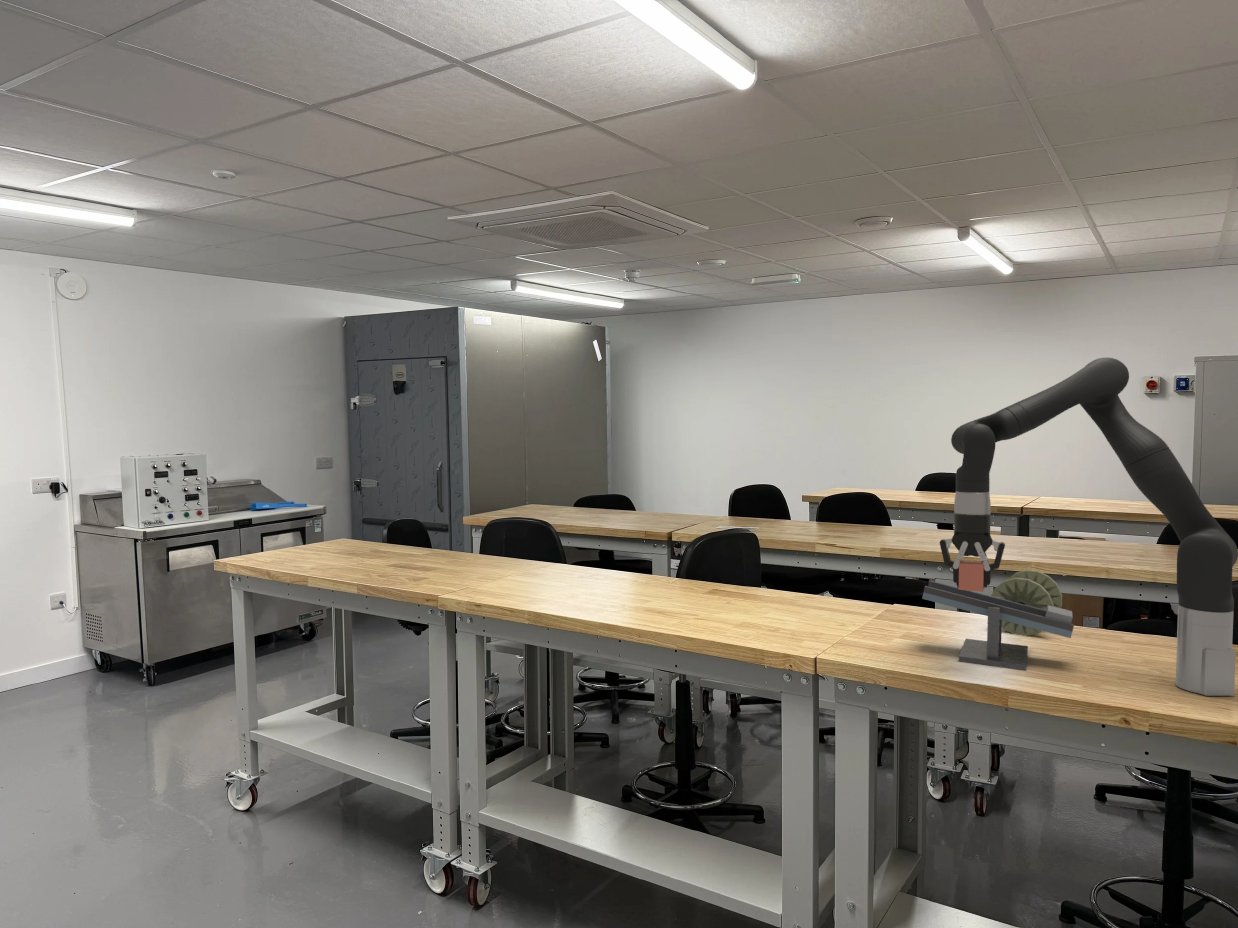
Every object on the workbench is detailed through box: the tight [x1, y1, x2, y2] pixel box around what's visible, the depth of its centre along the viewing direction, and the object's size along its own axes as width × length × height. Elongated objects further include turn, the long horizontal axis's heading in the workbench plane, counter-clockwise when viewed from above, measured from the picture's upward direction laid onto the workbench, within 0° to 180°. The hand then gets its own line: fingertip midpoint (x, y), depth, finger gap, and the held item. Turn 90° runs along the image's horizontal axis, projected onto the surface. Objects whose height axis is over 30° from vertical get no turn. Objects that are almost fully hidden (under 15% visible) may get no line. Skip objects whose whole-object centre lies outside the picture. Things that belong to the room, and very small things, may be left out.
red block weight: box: [958, 559, 985, 593], centre depth 176 cm, size 5×5×6 cm
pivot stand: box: [958, 597, 1029, 671], centre depth 185 cm, size 14×18×13 cm
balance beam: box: [921, 580, 1075, 639], centre depth 185 cm, size 32×11×5 cm, turn 61°
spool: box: [990, 569, 1063, 637], centre depth 212 cm, size 16×15×15 cm
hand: (971, 585), depth 176 cm, fingers closed on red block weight, 5 cm apart
